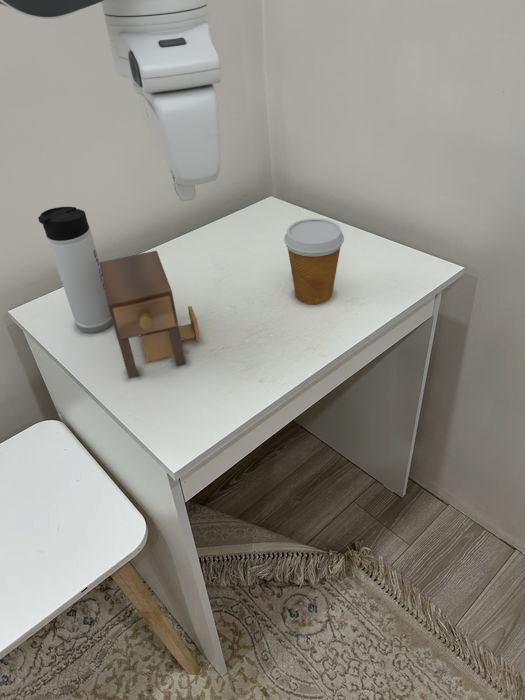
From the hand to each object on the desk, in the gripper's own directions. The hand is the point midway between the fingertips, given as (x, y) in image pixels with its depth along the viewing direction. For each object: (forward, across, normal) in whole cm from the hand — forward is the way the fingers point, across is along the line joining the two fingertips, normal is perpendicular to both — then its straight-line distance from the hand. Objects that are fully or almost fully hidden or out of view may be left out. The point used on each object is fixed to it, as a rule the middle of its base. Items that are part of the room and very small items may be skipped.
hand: (185, 195), depth 57 cm
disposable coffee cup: (+29, -18, +22) cm, 41 cm away
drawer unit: (+29, -14, -7) cm, 33 cm away
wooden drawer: (+29, -14, -4) cm, 33 cm away
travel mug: (+29, -24, -14) cm, 41 cm away
